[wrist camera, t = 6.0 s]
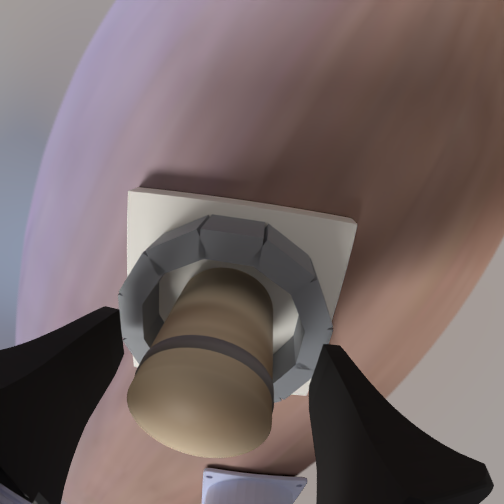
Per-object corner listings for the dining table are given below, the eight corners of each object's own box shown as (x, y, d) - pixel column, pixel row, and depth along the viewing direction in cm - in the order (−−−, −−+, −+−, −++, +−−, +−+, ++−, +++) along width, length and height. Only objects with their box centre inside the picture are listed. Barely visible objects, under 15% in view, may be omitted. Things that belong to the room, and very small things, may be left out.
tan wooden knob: (262, 357, 14) (255, 467, 8) (175, 338, 14) (130, 438, 8) (284, 278, 12) (292, 384, 7) (183, 256, 12) (121, 345, 7)
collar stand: (305, 382, 15) (309, 424, 13) (140, 355, 16) (120, 391, 13) (351, 218, 12) (373, 240, 10) (138, 187, 12) (103, 200, 10)
